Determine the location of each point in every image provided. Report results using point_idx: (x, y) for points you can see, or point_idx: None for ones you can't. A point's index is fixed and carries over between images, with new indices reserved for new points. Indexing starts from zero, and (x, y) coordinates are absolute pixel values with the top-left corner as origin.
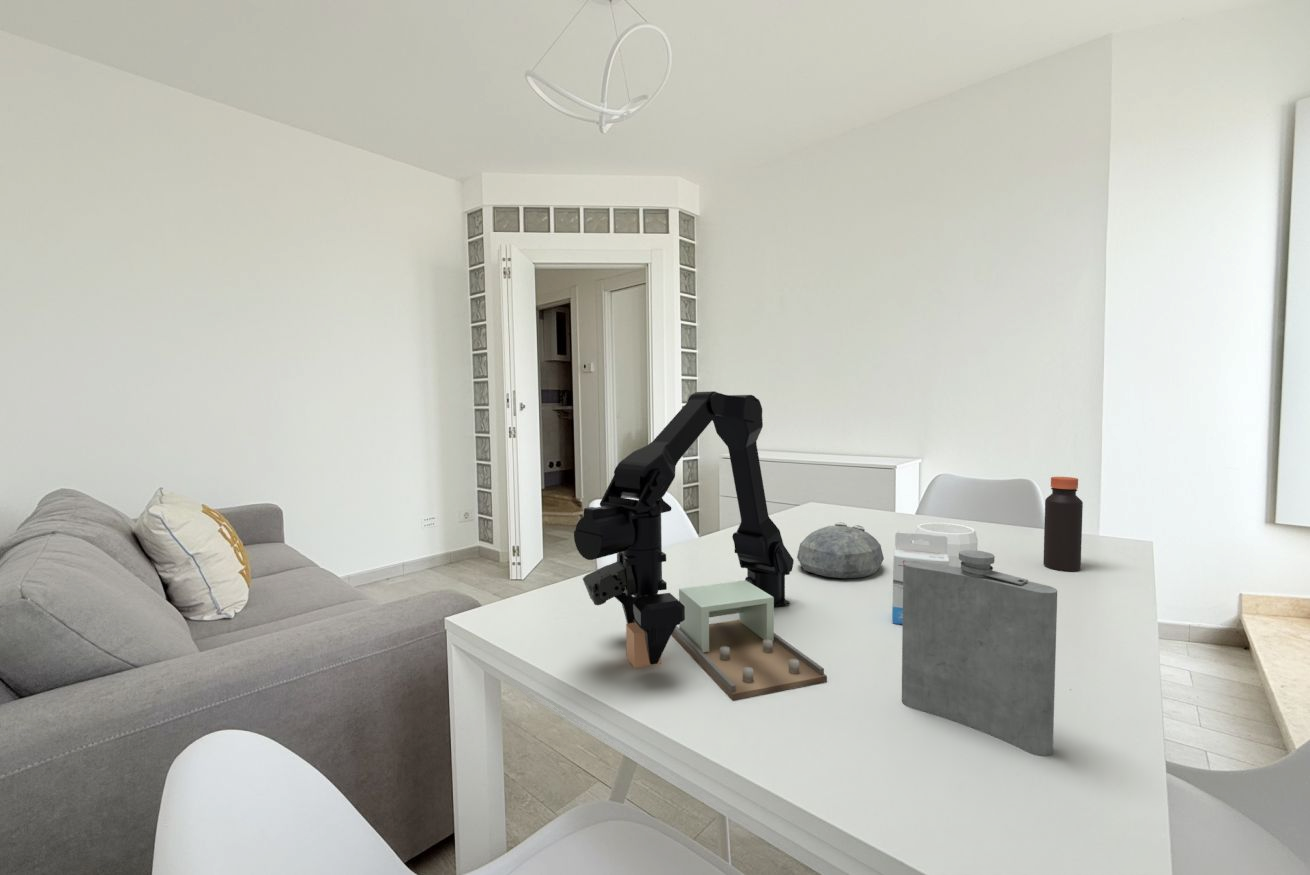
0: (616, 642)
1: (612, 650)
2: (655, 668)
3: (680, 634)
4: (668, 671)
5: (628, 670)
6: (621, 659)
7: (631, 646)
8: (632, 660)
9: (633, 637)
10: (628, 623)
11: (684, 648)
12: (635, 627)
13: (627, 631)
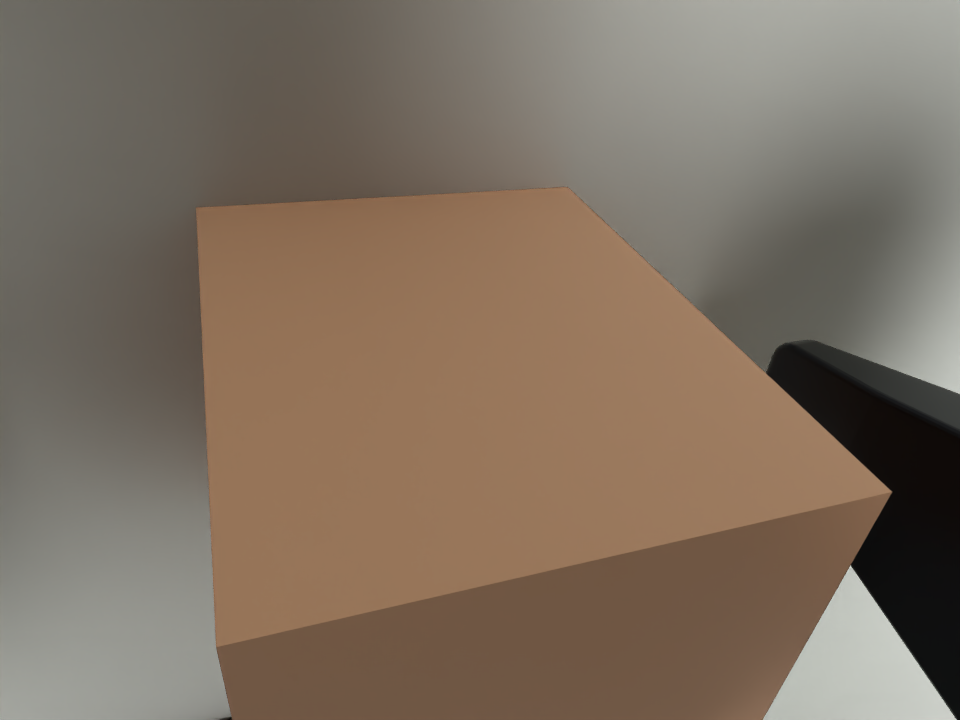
0: (925, 157)
1: (801, 51)
2: (116, 438)
3: None
4: (3, 547)
5: (120, 100)
6: (515, 96)
7: (391, 333)
8: (301, 229)
9: (271, 531)
10: (865, 532)
11: None
12: (604, 645)
13: (720, 414)
